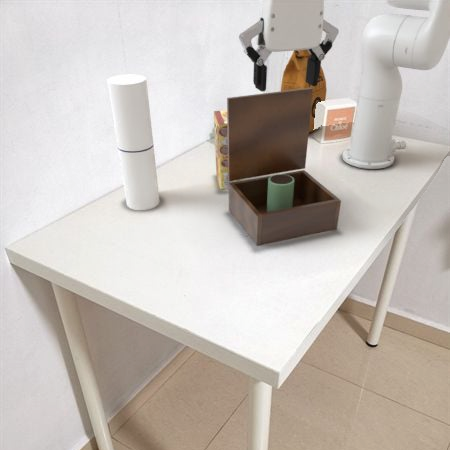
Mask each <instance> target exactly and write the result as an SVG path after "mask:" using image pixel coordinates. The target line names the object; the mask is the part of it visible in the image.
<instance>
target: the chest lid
mask: <svg viewBox="0 0 450 450" xmlns="http://www.w3.org/2000/svg"><path fill="white" fill-rule="evenodd" d="M312 93H313V89H312V88H305V89H296V90H288V91H281V90H280V91H273V92H265V93H263V92H262V93H255V94H248V95H239V96H232V97H231V96H230V97H227V98H226V110H227V134H228V180H229V181H234V180H238V181H241V180H247V179H253V178H259V177H265V176H270V175H276V174H282V173H288V172H294V171H300V170H305V169H306V164H307V153H308V142H309V135H310V134H309V133H310V132H309V124H310V114H311V103H312Z"/></svg>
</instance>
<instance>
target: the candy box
mask: <svg viewBox="0 0 450 450" xmlns="http://www.w3.org/2000/svg"><path fill="white" fill-rule="evenodd" d="M213 127H214V128H213V129H214V130H213V131H214V148H215V149H214V151H215V153H214V154H215V170H216V179H217V182H218V183H217V184H218V186H219V189H220V190H229V183H231V182H237V181H239V180H234V181H229V180H228V134H227V109H225V110H214V111H213Z"/></svg>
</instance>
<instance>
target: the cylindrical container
mask: <svg viewBox="0 0 450 450" xmlns="http://www.w3.org/2000/svg"><path fill="white" fill-rule="evenodd" d="M106 83H107V84H106V85H107V89H108V96H109V101H110V109H111V115H112V121H113V126H114V134H115V138H116V139H115V140H116V146H117V152H118V159H119V164H120V171H121V178H122V183H123V190H124V194H125V195H124V196H125V203H126V207H128V208H129V209H131V210H135V211H147V210H148V211H149V210H151V209H154V208H156V207H157V206H159V204H160V202H161V201H160V192H159V183H158V173H157V165H156V156H155V155H156V153H155V146H154V137H153V136H154V135H153V127H152V119H151V109H150V100H149V93H148V82H147V77H146V76H145V75H141V74H135V73H134V74H133V73H128V74H127V73H126V74H118V75H113V76H111V77H109V78H107V79H106Z"/></svg>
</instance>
